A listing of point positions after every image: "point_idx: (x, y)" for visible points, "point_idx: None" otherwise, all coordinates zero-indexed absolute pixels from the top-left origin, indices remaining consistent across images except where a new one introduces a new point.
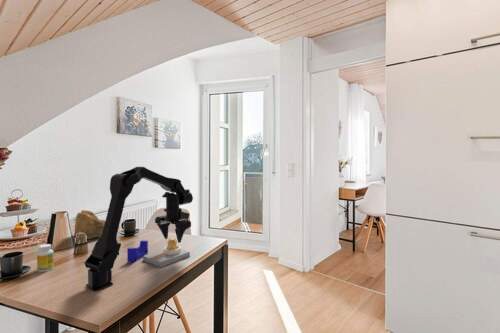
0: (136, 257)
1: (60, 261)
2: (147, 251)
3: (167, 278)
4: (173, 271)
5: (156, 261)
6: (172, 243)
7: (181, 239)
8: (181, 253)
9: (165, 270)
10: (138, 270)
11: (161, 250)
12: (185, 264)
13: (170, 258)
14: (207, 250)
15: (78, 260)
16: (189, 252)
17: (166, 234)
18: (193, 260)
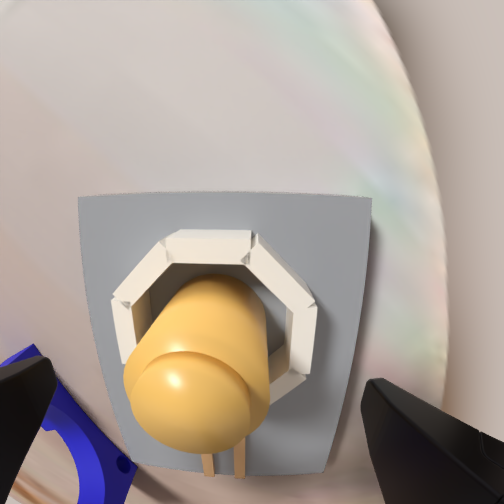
0: (114, 464)
1: (14, 484)
2: (29, 352)
3: None
4: None
5: (283, 472)
6: (255, 419)
7: (415, 399)
8: (335, 292)
9: None
10: (255, 501)
11: (102, 343)
12: (433, 341)
13: (337, 416)
14: (361, 6)
15: (20, 477)
16: (369, 202)
17: (17, 407)
18: (440, 253)
